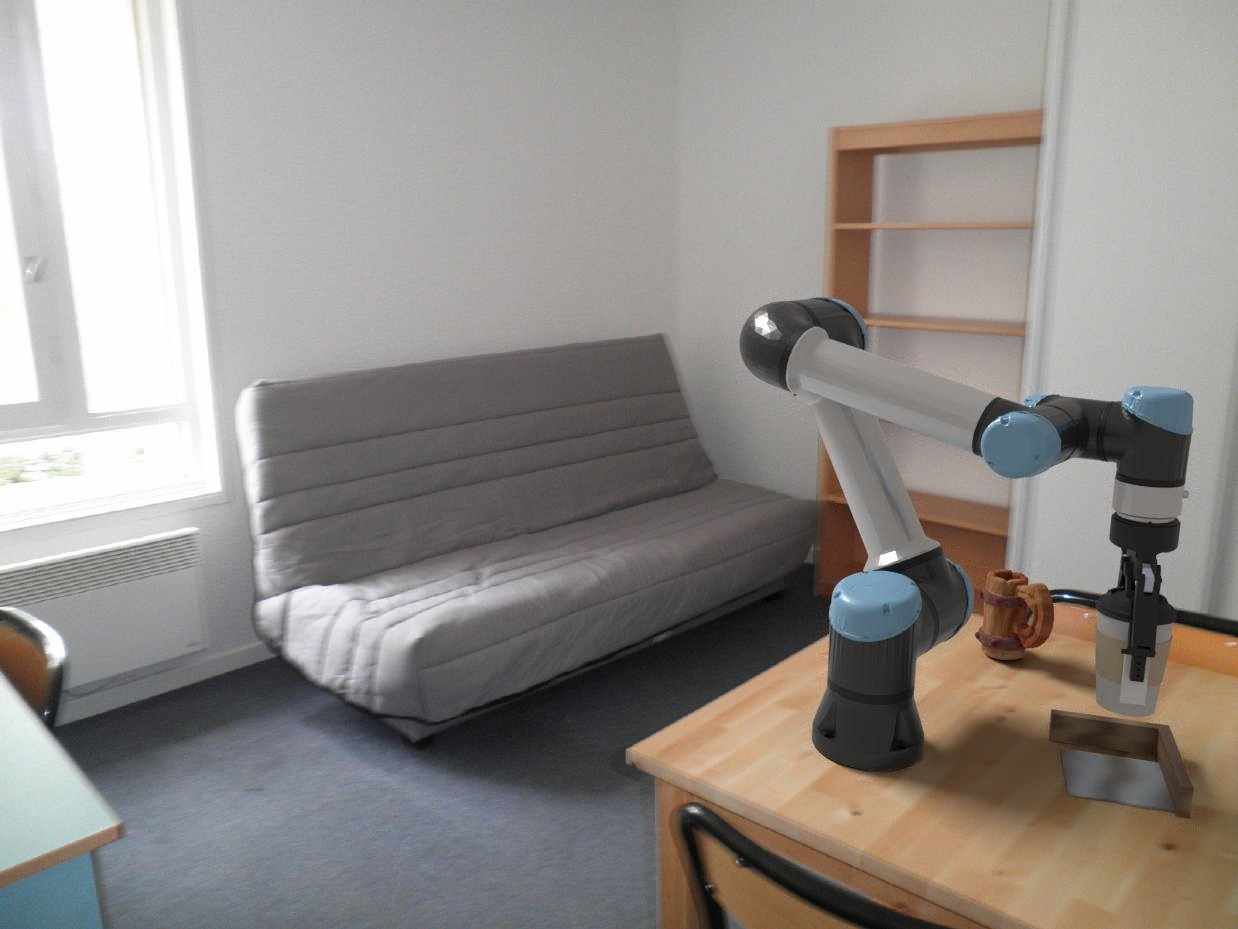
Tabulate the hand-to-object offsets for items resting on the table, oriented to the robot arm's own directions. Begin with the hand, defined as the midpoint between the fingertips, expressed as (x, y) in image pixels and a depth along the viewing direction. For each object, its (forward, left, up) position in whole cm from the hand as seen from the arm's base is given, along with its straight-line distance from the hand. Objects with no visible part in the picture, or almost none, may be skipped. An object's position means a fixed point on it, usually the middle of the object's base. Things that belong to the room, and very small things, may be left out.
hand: (1126, 687), depth 126 cm
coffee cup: (0, 0, -3) cm, 3 cm away
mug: (-11, +35, -13) cm, 39 cm away
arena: (0, +2, -13) cm, 13 cm away
